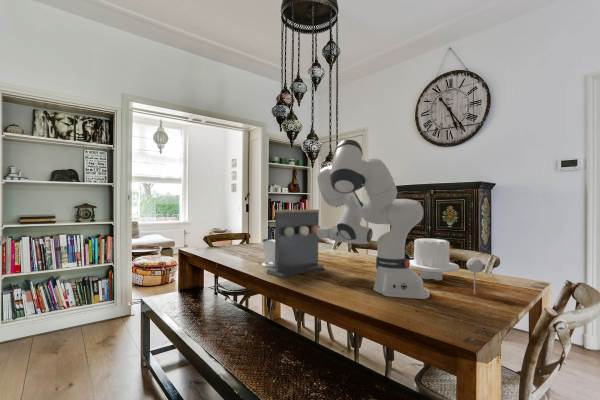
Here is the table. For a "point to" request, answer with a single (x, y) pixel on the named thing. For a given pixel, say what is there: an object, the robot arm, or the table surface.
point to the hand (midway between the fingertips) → (320, 231)
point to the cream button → (303, 230)
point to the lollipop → (474, 267)
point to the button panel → (295, 243)
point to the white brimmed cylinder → (432, 258)
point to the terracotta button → (314, 229)
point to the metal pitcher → (269, 252)
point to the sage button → (288, 231)
